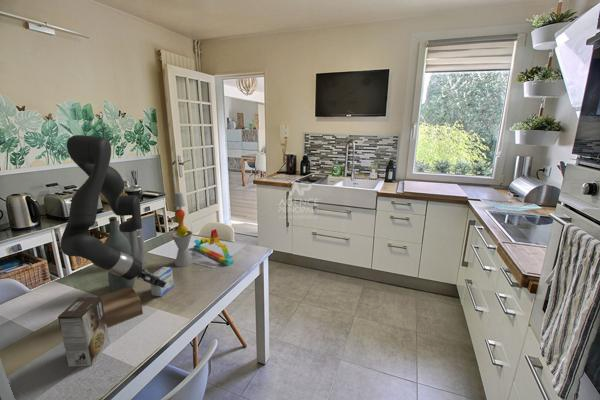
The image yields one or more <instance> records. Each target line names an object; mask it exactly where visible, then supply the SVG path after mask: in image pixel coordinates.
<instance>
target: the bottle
mask: <svg viewBox="0 0 600 400" xmlns="http://www.w3.org/2000/svg"><path fill="white" fill-rule="evenodd" d="M108 220H109V230H110V232H109V234H108V235H107V237H106V239H105V240H104V242H103V243H105V244H106V245H107V246H109V247H111V248H113V249H115V250H117V251H120V252H122V253H125V254H127V255H129V256H131V246H130V243H129V241H128V239H127V238H126V237H125V236H124V235H123V234H122V233H121V232H120V230H119V224H118V218H117V216H110V217H109V218H108ZM107 276H108V277H107V279H108V285H109V287H110V288H109V289H110V290H111V291H112V292H114V291H117V290H120V289H123V288H126V287H129V286H131V287H132V288H133V289H134V286H135V281H136V280H135V279H136V277H135V278H134V279H132V280H127V279H125V278H122V277H120V276H117V275H115V274H113V273H111V272H109V271H108V272H107Z"/></svg>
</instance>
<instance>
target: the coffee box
mask: <svg viewBox="0 0 600 400" xmlns="http://www.w3.org/2000/svg"><path fill="white" fill-rule="evenodd" d="M57 320H58V323H59V328H60V333H61V337H62V341H63V346H64V349H65V355H66V360H67V364H68V367H69V368H70V367H71V368H73V367H91V366H93V365H94V364H95V363H96V361H97V360H98V359H99V357H100V356H101V354H102V353H103V352H104V351H105V350H106V348H107V346H108V345H109V343H110V337H109V332H108V331H109V330H108V328H107V325H106V320H105V315H104V309H103V304H102V299H101V297H99V296H95V297H94V296H81V297H78V298H77V299H75V300H74V301H73V303H71V304H70V305H69V306H68V307H67V308H65V310H64V311H63V312H61V313H60V314H59V315H58V316H57Z"/></svg>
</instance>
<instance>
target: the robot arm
mask: <svg viewBox="0 0 600 400" xmlns="http://www.w3.org/2000/svg"><path fill="white" fill-rule="evenodd" d="M66 149H67V153H68V156H69V157H70V159H71V160H72V161H73V162H74V163H75V165H77V166H78V168H79V169H81V170H82V171H83V172H84V173H85V174H86V175H87V176H88V178H86V180H85V181H84V182H83V184H81V186H80V187H79V188H78V189H77V190H76V191H75V193H74V194H73V196H72V198H71V201H70V206H69V207H70V208H69V212H68V213H69V215H68V220H67V223H66V225H65V228H64V230H63V232H62V236H61V238H60V239H61V240H60V249H61V252H62V253H63V254H64V255H66V256H68V257H76V258H77V257H80V258H83V259H85V260H87V261H90V263H92V265H94V266H96V267H98V268H101V269H103V270H105V271H109V272H111V273H113V274H115V275H117V276H120V277H122V278H125V279H127V280H132V279H134V278H135V279H138V280H140V281H142V282H145V283H147V284H150V285H151V284H152V285H154V286H160V287H162V288H163V287H164V286H165V285H166V282H164V281H162V280H160V279H159V278H156V277H155V276H154V274H153V273H151V272H150V271H149V270H148V269H146V268H145V267H143V264H145V263H146V262H147V257H146V249H145V247H146V246H145V241H144V233H143V232H144V231H143V225H142V213H141V200H140V198H139V196H138V195H135V194H132V195H122V193H123V192H124V190H125V181H124V179H123V177H122V176H121V173H119V172H118V171H117V170H116V169H115V168H114V167H112V166H111V165H110V162H111V157H112V145H111V142H110V141H109V139H108V138H106V137H104V136H96V135H95V136H94V135H83V134H79V135H78V134H77V135H72V136H70V137H69V138H68V139H67V141H66ZM101 194H102V196H103V197H104V198H105V200H106V201H107V203H108V205H109V207H110V209H111V211H112V213H113V214H114V215H115V216H116V217H117V216H118V217H124V216H125V217H126V216H131V218H130V219H127V220H126V221H125V220H124V221H123V222H121V223H120V224H118V230H119V231H120V232H121V233H122V234H123V235H124V236H125V237H126V238H127V239H128V241H129V243H130V246H131V256H129V255H127V254H125V253H122V252H120V251H117V250H115V249H113V248H111V247H109V246H107V245H106V244H105V243H104V242H103V241H102V240H101V239H99V238H98V237H96V236H94V235H91V234H89V230H90V228H91V227H93V226H94V225H95V223H96V221H97V214H98V208H99V200H100V195H101ZM155 279H156V280H155ZM154 280H155V281H154ZM153 281H154V282H153Z"/></svg>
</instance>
